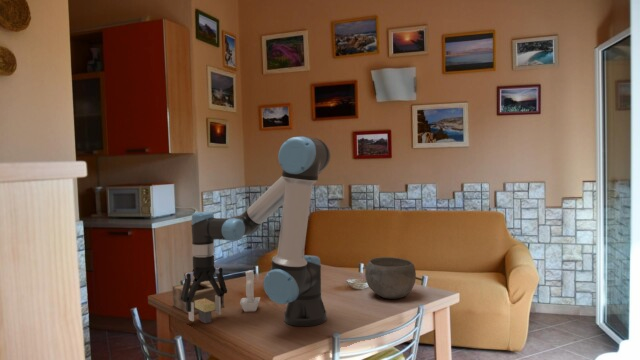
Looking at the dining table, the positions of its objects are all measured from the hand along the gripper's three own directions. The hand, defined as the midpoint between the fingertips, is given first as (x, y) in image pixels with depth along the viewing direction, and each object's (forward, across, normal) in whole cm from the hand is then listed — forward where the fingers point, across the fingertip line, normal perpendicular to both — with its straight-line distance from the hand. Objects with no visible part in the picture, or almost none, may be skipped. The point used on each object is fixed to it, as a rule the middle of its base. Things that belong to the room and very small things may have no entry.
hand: (205, 316), depth 164 cm
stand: (+1, 0, 0) cm, 1 cm away
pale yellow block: (-3, 0, 0) cm, 3 cm away
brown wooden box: (+1, -6, -18) cm, 19 cm away
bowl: (+2, -71, +26) cm, 76 cm away
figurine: (+2, -19, 0) cm, 19 cm away
